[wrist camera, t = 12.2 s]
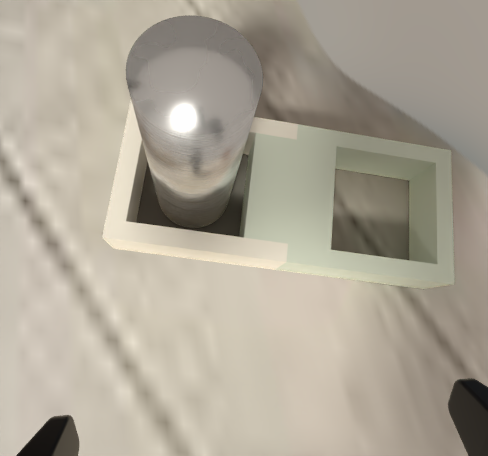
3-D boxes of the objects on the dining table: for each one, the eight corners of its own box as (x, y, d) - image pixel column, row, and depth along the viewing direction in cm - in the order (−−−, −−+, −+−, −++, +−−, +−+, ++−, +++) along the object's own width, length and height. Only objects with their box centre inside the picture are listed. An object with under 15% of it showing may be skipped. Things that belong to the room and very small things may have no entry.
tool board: (423, 169, 27) (451, 150, 24) (423, 289, 25) (454, 284, 22) (138, 122, 25) (131, 95, 22) (113, 248, 23) (102, 237, 20)
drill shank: (181, 241, 23) (171, 159, 12) (143, 181, 24) (100, 47, 12) (242, 205, 24) (288, 97, 13) (205, 148, 25) (217, -3, 13)
